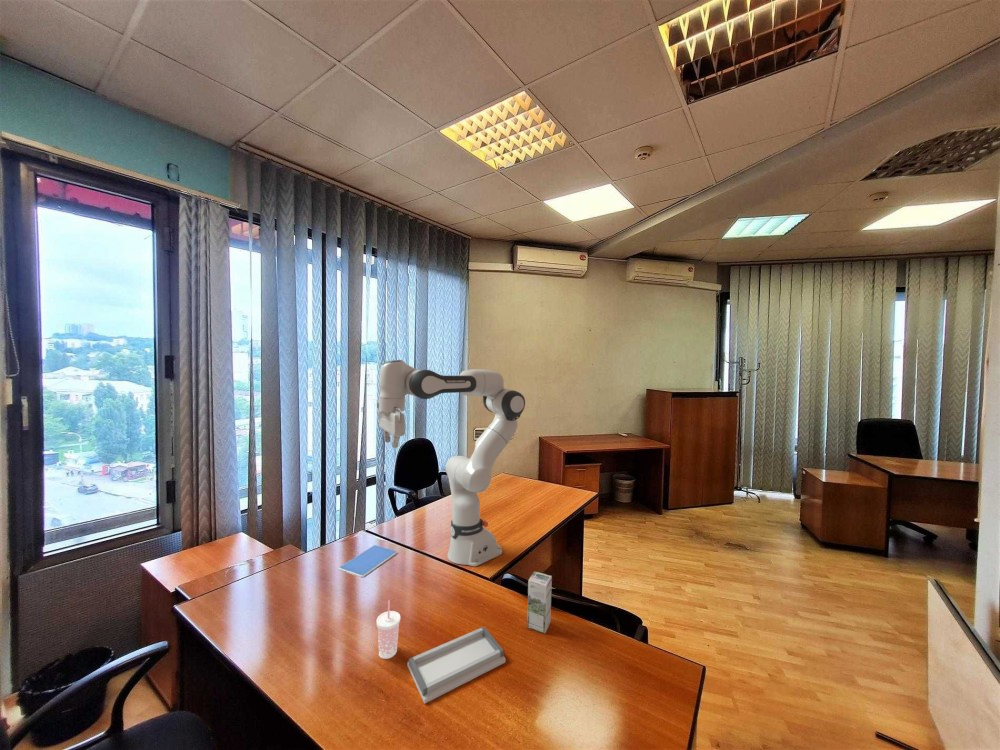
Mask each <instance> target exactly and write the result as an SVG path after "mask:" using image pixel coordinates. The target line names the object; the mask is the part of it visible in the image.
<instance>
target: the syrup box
mask: <svg viewBox="0 0 1000 750" xmlns="http://www.w3.org/2000/svg"><path fill="white" fill-rule="evenodd" d="M552 577H553V576H552V575H549V574H546V573H542V572H539V571H533V572H532V574H531V575H530V577H529V579H528V582H527V584H528V585H527V586H528V587H527V594H528V595H527V618H526V619H527V622H526V628H528V629H530V630H533V631H535V632H537V633H542V634H546V633H547V631H548V628H549V627H550V624H551V619H552V617H551V615H552V614H551V612H552V610H551V609H552V581H553V578H552Z"/></svg>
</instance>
